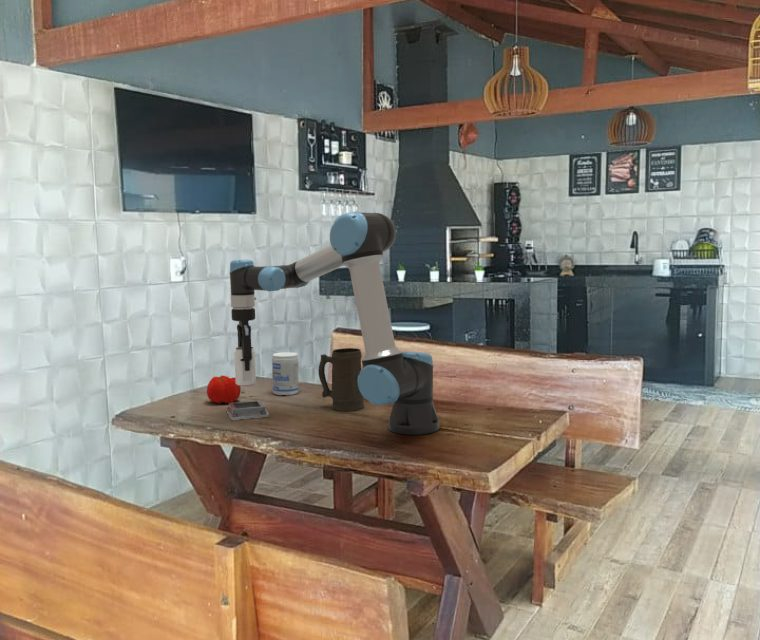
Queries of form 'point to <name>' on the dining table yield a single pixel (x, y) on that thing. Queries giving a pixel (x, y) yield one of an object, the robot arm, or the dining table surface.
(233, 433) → the dining table surface
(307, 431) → the dining table surface
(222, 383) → the tomato
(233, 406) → the grey flat rectangular tray
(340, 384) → the beer stein
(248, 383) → the can
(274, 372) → the supplement tub
